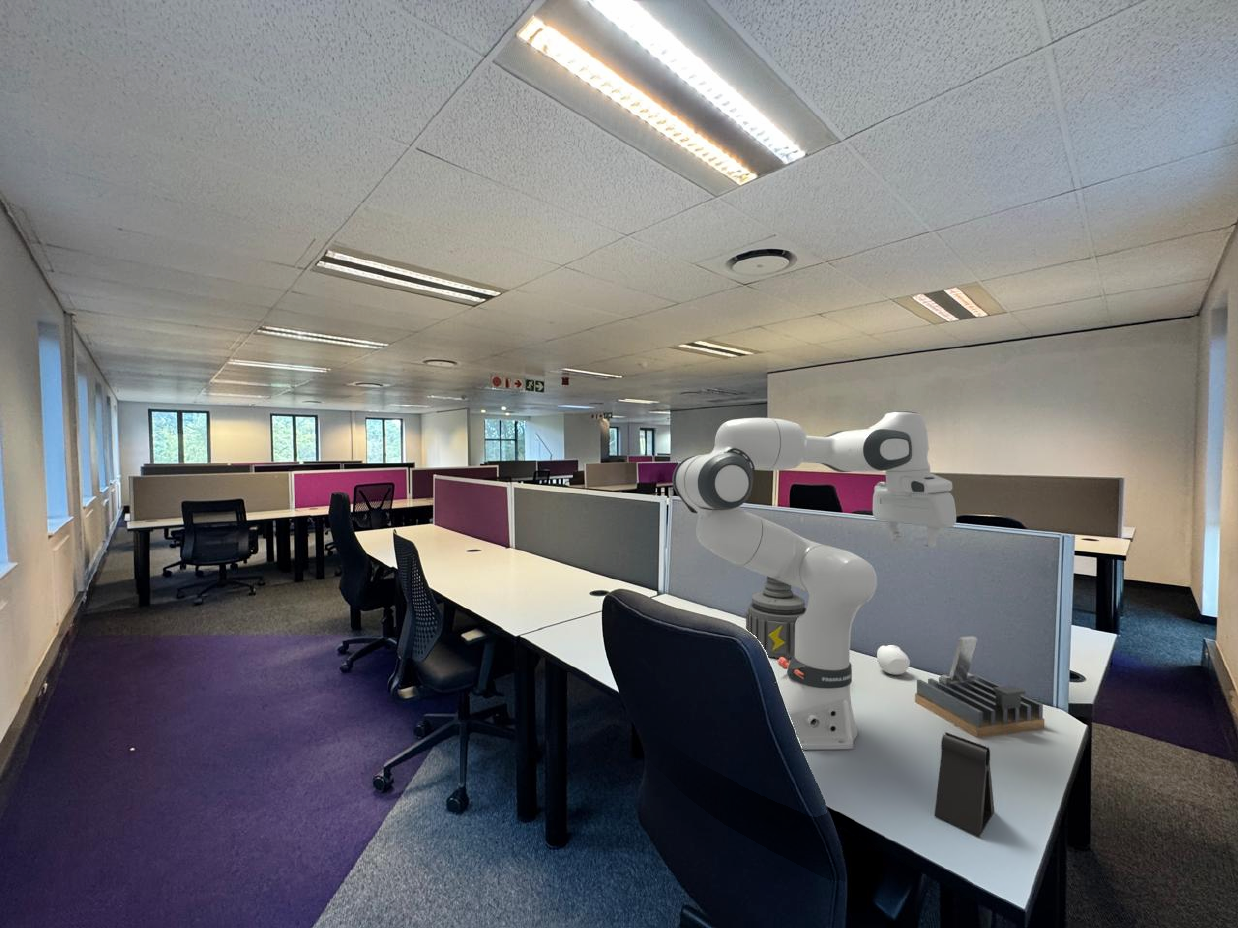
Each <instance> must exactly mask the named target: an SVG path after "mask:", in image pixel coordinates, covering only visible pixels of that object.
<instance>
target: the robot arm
mask: <svg viewBox="0 0 1238 928" xmlns="http://www.w3.org/2000/svg"><path fill="white" fill-rule="evenodd" d="M928 437H929V436H928V431H927V426H926V423H925V419H924V418H923V416H922V415H921V414H920V413H918V412H916V411H910V410H906V411H902V410H897V411H896V410H895V411H890V412H887V413H885V414H884V416H883V417H882V419H880V420H879V421H878V422H877V423H876V424H873V425H872V426H870V427H868V428H866V429H864V428H863V429H854V430H838V431H835V432H832V433H830V434H828V435H825V436H816V435H806V432H805V431H804V428H803V427H802V426H801V425H800V424H799V423H796V422H793V421H791V420H787V419H780V418H772V417H748V418H747V417H744V418H736V419H730V420H728V421H725V422H723V423H722V424H721V425H720V426H719V428H718V429H717V432H716V433H715V438H714V447H713V449H712V451H711V452H710V453H707V454H700V455H691V456H689V457H686V458H684V459H683V460H682V461H680V463H678V464H677V466H676V467H675V469H674V471H673V474H672V477H671V478H672V479H671V480H672V487H673V489H674V491H675V493H676V495H677V496H678V497H679V498H680V499H681V501H682V502H683V503H684V505H685V506H686V507H687V509H688V510H689V511H690V512H691V513H694V514H698V519H697V523H696V525H695V534H696V535H695V536H696V539H697V541H698V542H699V544H700V545H701V546H702V547H703V548H705V549H706V550H707V551H710V552H711V553H713V554H714V555H716V556H718V557H719V558H721V559H724V560H725V561H728V562H729V563H731V564H734V565H736V566H739V567H742V568H745V569H747V570H748V571H752V572H755V573H757V574H760V575H762V576H765V577H766V578H767V577H769V578H773V579H775V580H778V581H781V582H783V583H786V584H789V585H791V587H794V588H796V589H798V590H801V591H804V592H806V593H808V603H807V606H806V611H805V613H804V614H802V615H801V616H799V617H798V618H797V620H796V622H795V654H794V655H793V657H792V659H790V661H789V659H785V658H784V657H780V658H779V659H777V664H778V666H779V667H781V668H782V669H783V670H786V673H785V674H784V675H783V676H781V677H780V679H778V680H777V681H776V682H778V685H779V688H780V690H781V694H782V697H783V700H784V703H785V705H786V707H787V710H788V713H789V715H790V717H791V720H792V722H793V725H794V728H795V730H796V735H797V737H798V738H799V741H800V744H801V746H802V749H803V750H815V751H816V750H852V749H853V748H854V740H855V739H856V737H857V736H858V734H859V733H858V729H857V725H856V721H855V717H854V711H853V706H852V705H853V703H852V696H851V684H852V682H853V679H852V678H853V673H852V672H853V669H852V662H850V655H851V654H850V652H851V632H852V627H853V626H852V625H853V622H854V620H855V616H856V614H857V612H858V610H859V609H860V608H861V607H862V606H863V605H865V604H867V603H868V602H869V601H870V600H871V599H872V598H873V596H874V594H875V593H876V590H877V586H878V577H877V573H876V569H874V566H872V564H871V563H870V562H868V561H867V560H865V559H864V558H862V557H861V556H859V555H857V554H855V553H853V552H852V551H848V550H844V549H841V548H837V547H833V546H829V545H825V544H822V543H818V542H815V541H812V540H810V539H807V538H805V537H803V536H801V535H799V534H797V533H795V532H794V531H792V530H791V529H789V528H787V527H784V526H782V525H779V524H778V523H775V522H773V521H770V520H768V519H766V518H763V517H761V516H758V515H756V514H754V513H751V512H748V511H746V510H744V509H743V508H742V507H740V506H742V505H744V503H746V502H747V500H748V498H749V497H750V496H751V493H752V490H753V483H754V475H755V472H756V471H769V472H770V471H773V472H774V471H775V472H776V471H784V470H791V469H796V468H797V467H799V466H800V465H801V464H802V463H811V464H820V465H823V466H826V467H827V468H829V469H830V470H833V471H834V472H836V473H837V472H838V473H849V472H864V473H865V472H871V473H872V472H873V473H875V472H878V473H879V472H885V481H879V482H877V483H876V485H875V486H874V493H873V495H872V516H873V517H874V518H875V519H876V520H878V521H885V525H886V527H887V529H888V532H889V533H890V539H891V541H896V542H898V541H902V540H903V533H902V532H900V531H899V528H898V525H899V523H900V524H906V525H914V526H920V527H926V532H928V535H927V536H926V537H924V538H923V542H924V544H923V545H924V546H925V547H929V548H936V547H937V538H938V537H939V534H940V532H941V529H948V528H953V527H954V526H955V525H956V522H957V511H956V503H955V502H956V501H955V498H954V496H953V495H952V493H951V491H952V490H953V482H952V480H948V479H946V478H943V477H941V476H940V475H939V476H938V475H937V474H934V473H931V466H930V464H929V463H930V462H929V459H928V454H929V448H930V447H929V438H928ZM803 750H802V751H803Z"/></svg>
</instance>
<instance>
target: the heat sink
mask: <svg viewBox="0 0 1238 928" xmlns="http://www.w3.org/2000/svg"><path fill="white" fill-rule="evenodd" d="M1025 694H1026V690H1023V689H1021V688H1018V687H1017V686H1014V685H1005V686H1003V685H1001V684H998V683H996V682H994V681H991V680H989V679H987V678H984V677H983V676H980V675H978V674H975V673H970V672H968V674H967V680H963V681H953V682H951V677H949V675H947V674H942V675H941V674H940V676H939V677H938V680H935V679H934V678H928V679H927V682H926V681H924V680H923V679H917V680H916V692H915V693H914V702H915V703H917V704H919V705H920V706H921V707H923V708H925V709H927V710H928V711H930V712H932V713H933V714H935V715H937V716H938V717H940V718H942V719H943V720H945V721H947V722H950V723H951V724H952V725H954V726H956V727H957V728H958V729H961V730H963V731H964V732H966V733H967V734H969V735H971V736H973V737H975V738H984V737H992V736H998V735H1005V734H1012V733H1020V732H1026V731H1028V732H1029V731H1033V730H1034V731H1035V730H1040V729H1045V718H1044V717H1043V716H1044V715H1043V714H1044V712H1043V711H1044V709H1043V708H1044V704H1043V703H1041V702H1038V701H1036V700H1034V699H1032V698H1029V697H1028V696H1025Z"/></svg>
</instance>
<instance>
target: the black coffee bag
mask: <svg viewBox="0 0 1238 928" xmlns="http://www.w3.org/2000/svg"><path fill="white" fill-rule="evenodd" d="M944 732H945V731H944ZM940 745H941V747H940V748H941V756H940V762H939V763H940V765H939V772H938V782H937V790H936V798H935V799H936V800H935V808H934V817H935V818H938V819H939V820H942V821H943V822H946V823H948V824H949V825H952V826H954V827H957V828H958V829H960V830H962V831H965V832H967V833H969V834H971V835H973V836H975V837H977V838H980V837H981V835H982V834H983V832H984V830H985V829H986V827H987V825H988V823H990V820H991V818H993V817H992V816H993V815H994V813H995V802H994V793H993V783H992V782H993V781H992V773H991V772H992V771H991V749H990V747H988V746H985V745H982V744H980V743H977V742H974V741H971V740H969V739H966V738H963V737H961V736H957V735H955V734H952V733H950V732H949V733H948V732H945V733H943V734H942V738H941V744H940Z"/></svg>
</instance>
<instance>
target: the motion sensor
mask: <svg viewBox="0 0 1238 928" xmlns="http://www.w3.org/2000/svg"><path fill="white" fill-rule="evenodd" d="M876 659H877V663H878V665H879V668H880V669H882V670H883V671H884V672H885V673H887V674H889V675H892V676H893V675H894V676H896V675H902V674H904V673H906V672H907V670H908V669H909V668H910V665H911V660H910V659H909V656H908V655H907V654H906V653H905V652H904V651H902V650H901V647H899V646H897V645H894V644H889V645H881V646H880V647H879V648H878V649H877V655H876Z"/></svg>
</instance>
